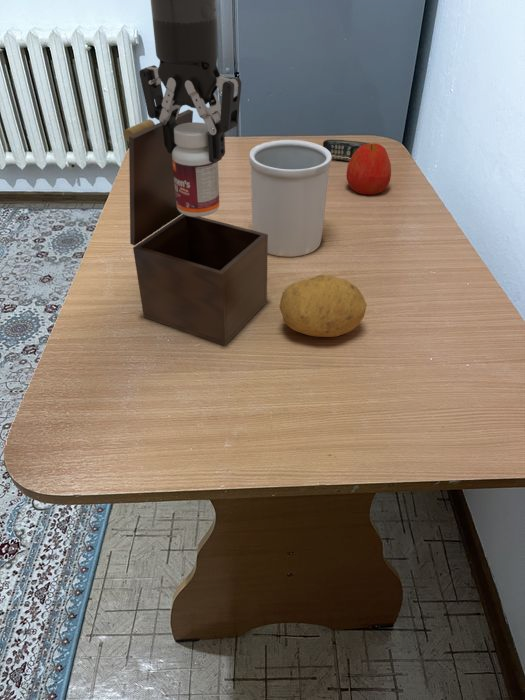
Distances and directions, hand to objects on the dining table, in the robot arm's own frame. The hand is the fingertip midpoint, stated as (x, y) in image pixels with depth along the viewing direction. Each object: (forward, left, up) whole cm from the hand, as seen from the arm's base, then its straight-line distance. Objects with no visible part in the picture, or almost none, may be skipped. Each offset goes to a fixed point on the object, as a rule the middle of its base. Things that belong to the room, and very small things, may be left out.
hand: (194, 155), depth 76 cm
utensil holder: (+29, 0, -27) cm, 40 cm away
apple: (+61, -5, -27) cm, 67 cm away
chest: (+1, +1, -26) cm, 26 cm away
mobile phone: (+76, +5, -27) cm, 81 cm away
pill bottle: (0, 0, -8) cm, 8 cm away
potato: (+5, -18, -27) cm, 33 cm away
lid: (+1, +7, -5) cm, 8 cm away
